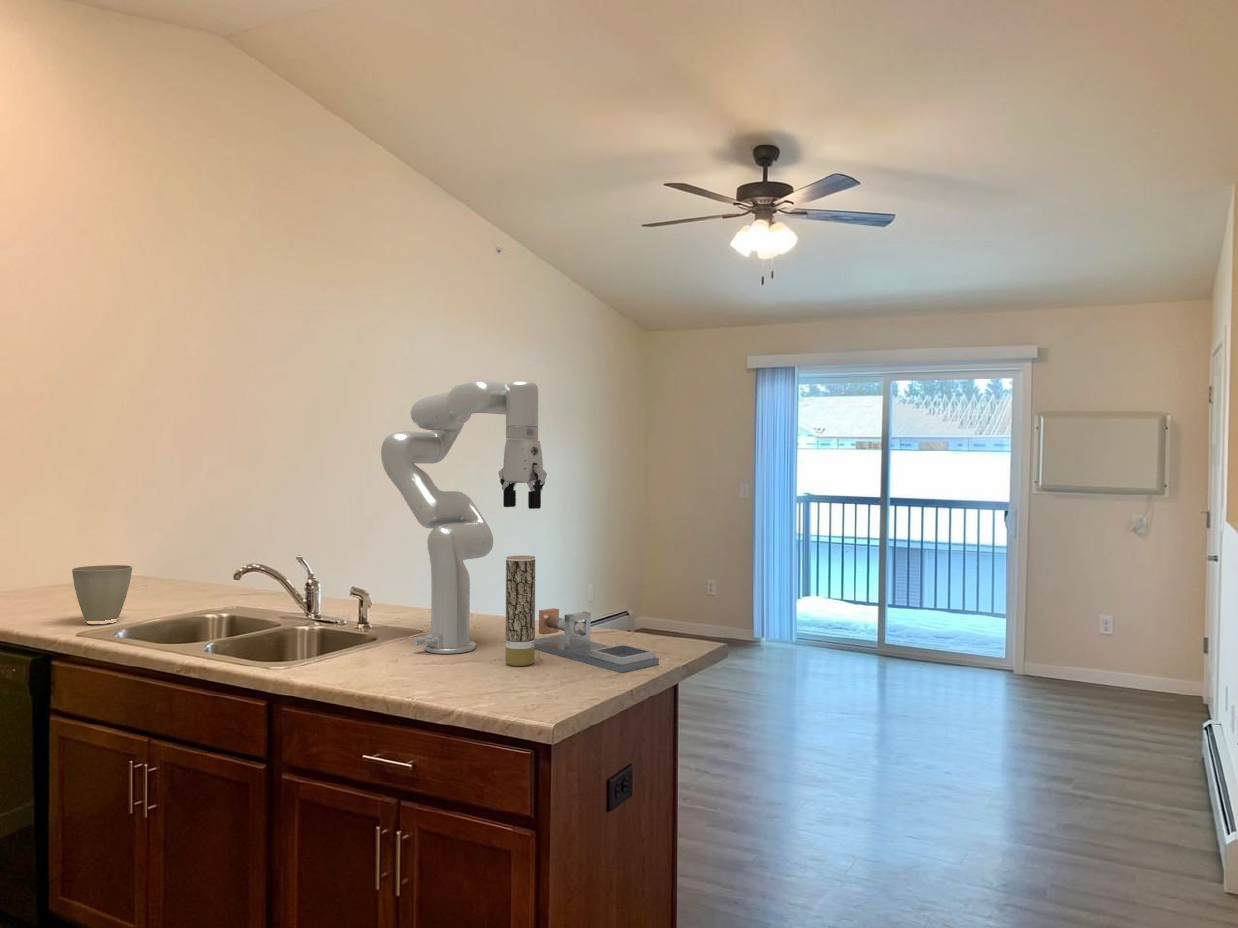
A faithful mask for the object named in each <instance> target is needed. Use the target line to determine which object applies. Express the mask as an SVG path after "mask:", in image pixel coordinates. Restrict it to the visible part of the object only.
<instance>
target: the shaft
mask: <svg viewBox="0 0 1238 928" xmlns="http://www.w3.org/2000/svg"><path fill="white" fill-rule="evenodd" d="M564 620H565V618H563V617H560V609H559V608H556V607H554V608H553V607H552V608H546V609H539V610H538V634H539V635H542V636H543V635H550V634H558V633H559V632H560V631H563V632H564ZM585 631H586V625H585V624H584V623H581V621H574V635H577V634H579V635H583V634H584V633H585Z"/></svg>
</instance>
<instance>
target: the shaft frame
mask: <svg viewBox="0 0 1238 928" xmlns="http://www.w3.org/2000/svg"><path fill="white" fill-rule="evenodd" d="M591 615H592V614H591V612H588V611H583V612H574V613H569V614H564V619H565V620H564V631H563V633H564V634H555V635H551V636H550V635H549V636H545V637H538V638H535V650H536V649H537V650H538V651H540V650H541V652H544V653H548V654H551V655H555V656H559V657H562V658H566V659H569V660H572V661H573V660H574V661H578V662H581V663H585V664H588V665H590V666H591V665H592V666H595V667H599V668H602V669H607V670H610V671H614V672H617V673H621V674H622V673H627V672H631V671H636V670H641V669H644V668H648V667H649V668H650V667H655V666H658V665H660V662H659V661H660V660H659V659H660V658H659V657H657V655H656V654H657V651H655V650H650V649H646V648H641V647H637V646H633V645H630V644H625V643H622V644H619V645H617V644H615V645H608V644H602V643H599V642H594V641H592V640H591V624H592V623H591V622H592V621H591V620H592V619H591ZM574 621H577V622H581V623H584V624H585V625H586V631H585V633H584V634H583V635H579V634H574Z"/></svg>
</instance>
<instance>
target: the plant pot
mask: <svg viewBox="0 0 1238 928" xmlns="http://www.w3.org/2000/svg"><path fill="white" fill-rule="evenodd" d="M132 571H133V566H132V565H125V564H103V565H99V564H98V565H89V566H88V565H87V566H85V565H84V566H79V567H77V566H76V567H73V568H72V569H71V573H72V579H73V586H74V590H75V594H76V599H77V602H78V606H79V608H80V611H81V614H82V616H83V618H84V621H85V620H86V621H105V620H111V619H117V618H118V619H119V617H120V615H121V612H122V610H123V607H124V605H125V602H126V598H127V594H128V591H129V587H130V582H131V579H132V578H131V577H132ZM86 621H85V622H86Z"/></svg>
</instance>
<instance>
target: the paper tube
mask: <svg viewBox="0 0 1238 928" xmlns="http://www.w3.org/2000/svg"><path fill="white" fill-rule="evenodd" d="M505 564H506V565H505V663H506V665H509V666H512V667H528V666H531V665H532V664H534V663H535V650H536V649H535V639H536V638H535V637H536V626H535V625H536V556H533V555H509V556H506V559H505Z"/></svg>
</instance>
